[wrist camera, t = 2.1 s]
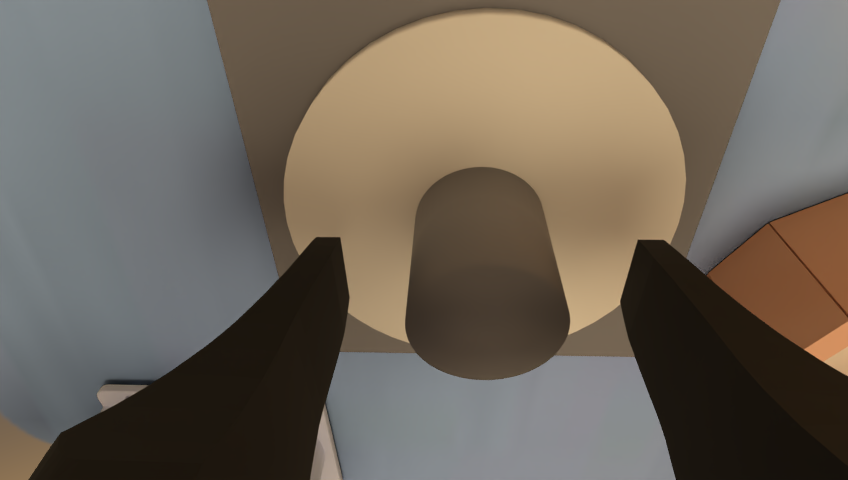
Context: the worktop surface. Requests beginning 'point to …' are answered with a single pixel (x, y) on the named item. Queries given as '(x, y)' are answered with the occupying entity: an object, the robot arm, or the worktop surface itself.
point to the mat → (574, 3)
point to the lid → (485, 184)
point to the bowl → (797, 279)
